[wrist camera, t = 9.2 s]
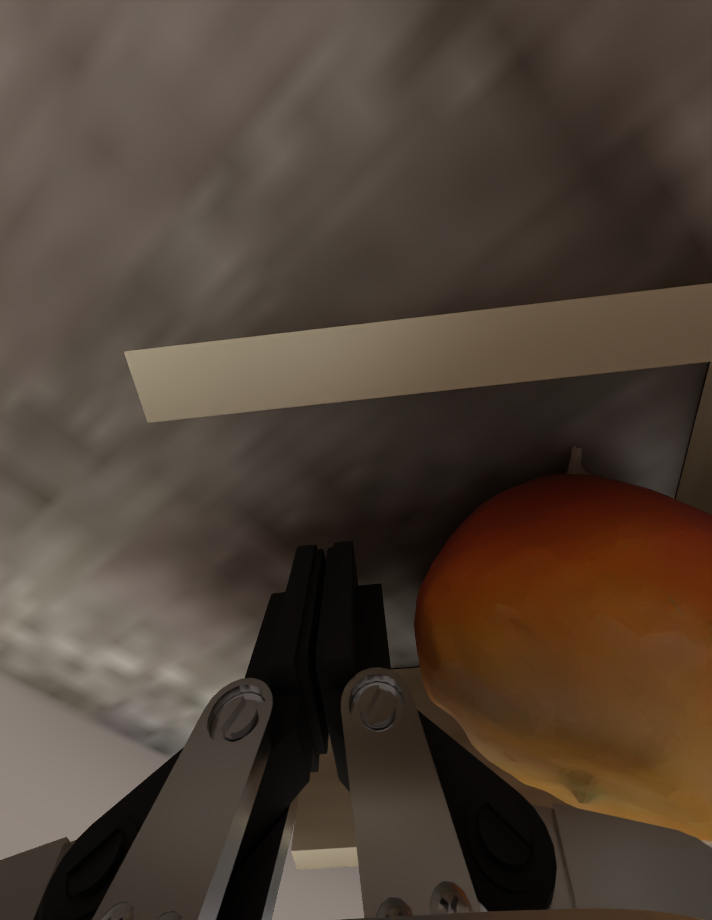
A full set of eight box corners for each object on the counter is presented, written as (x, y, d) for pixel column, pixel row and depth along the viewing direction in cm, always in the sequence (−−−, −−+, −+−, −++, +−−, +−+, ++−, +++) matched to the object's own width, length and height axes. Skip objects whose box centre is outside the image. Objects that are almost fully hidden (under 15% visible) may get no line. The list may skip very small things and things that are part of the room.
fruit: (784, 543, 10) (1075, 1027, 5) (524, 579, 15) (515, 817, 10) (654, 332, 8) (903, 757, 2) (408, 460, 13) (317, 679, 8)
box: (240, 341, 9) (123, 351, 5) (769, 280, 9) (1240, 221, 4) (316, 692, 14) (297, 869, 10) (658, 665, 14) (815, 838, 9)
